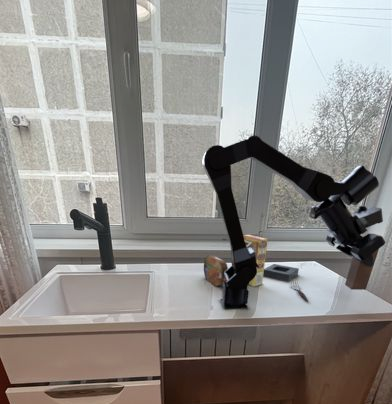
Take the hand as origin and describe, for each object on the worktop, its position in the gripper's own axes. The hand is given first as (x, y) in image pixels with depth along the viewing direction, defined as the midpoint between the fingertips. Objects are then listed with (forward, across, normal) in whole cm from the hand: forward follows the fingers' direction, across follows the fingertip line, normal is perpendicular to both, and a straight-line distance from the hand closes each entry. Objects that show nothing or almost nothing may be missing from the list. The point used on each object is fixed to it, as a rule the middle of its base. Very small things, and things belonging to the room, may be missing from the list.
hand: (367, 263), depth 77 cm
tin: (-19, +20, +37) cm, 46 cm away
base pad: (-1, +28, +19) cm, 34 cm away
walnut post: (+4, 0, +6) cm, 7 cm away
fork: (0, +10, +18) cm, 20 cm away
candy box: (-10, +20, +28) cm, 36 cm away
